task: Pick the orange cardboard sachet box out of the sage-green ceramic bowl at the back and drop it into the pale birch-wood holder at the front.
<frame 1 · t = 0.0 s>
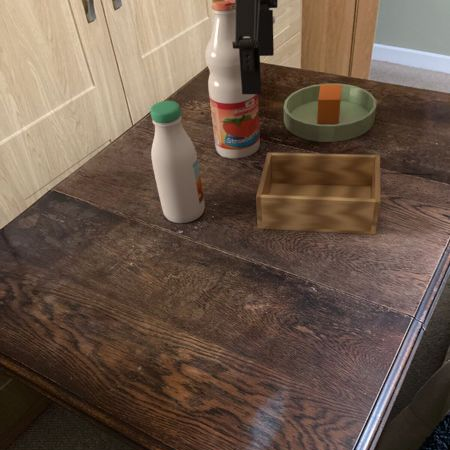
hand: (258, 73, 76), 22 cm above the table, tool pointing down, fingers open, 13 cm apart
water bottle: (236, 104, 118), on the table
fruit juice: (238, 149, 104), on the table
holder: (318, 207, 88), on the table
milk bottle: (184, 212, 91), on the table
sachet box: (328, 118, 107), resting on bowl
bowl: (328, 121, 108), on the table
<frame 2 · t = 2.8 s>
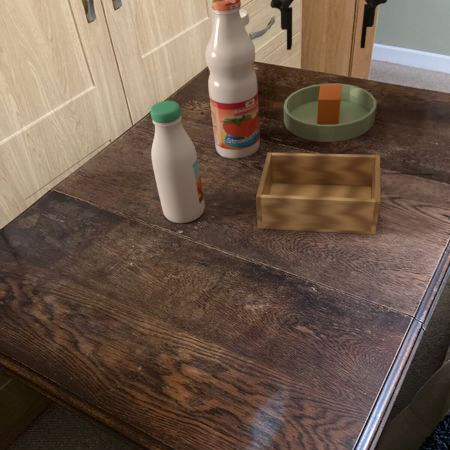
hand: (325, 46, 93), 17 cm above the table, tool pointing down, fingers open, 13 cm apart
nothing on the table moved.
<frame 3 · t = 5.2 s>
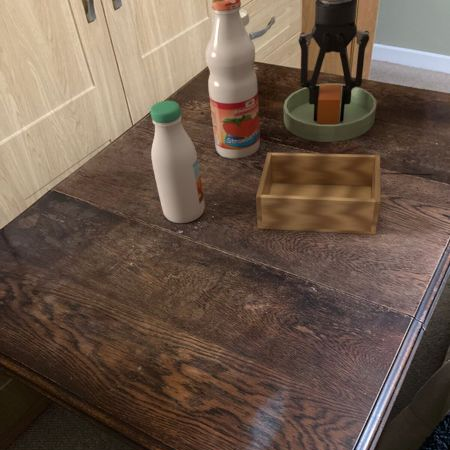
hand: (328, 117, 107), 1 cm above the table, tool pointing down, fingers closed on bowl, 5 cm apart
nothing on the table moved.
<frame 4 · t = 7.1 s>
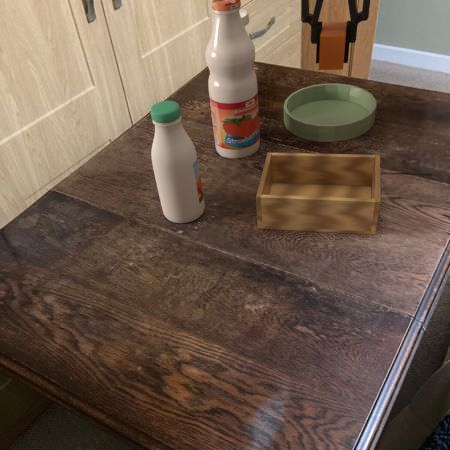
hand: (332, 60, 95), 14 cm above the table, tool pointing down, fingers closed on sachet box, 4 cm apart
sachet box: (332, 62, 95), point 14 cm above the table, touching gripper
everything else where it was.
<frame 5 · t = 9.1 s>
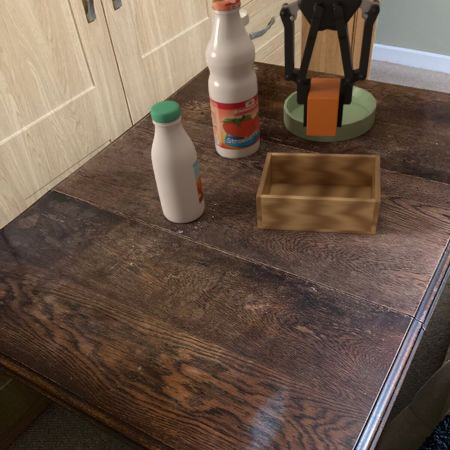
hand: (322, 122, 79), 14 cm above the table, tool pointing down, fingers closed on sachet box, 4 cm apart
sachet box: (322, 124, 79), point 14 cm above the table, touching gripper
everything else where it was.
when the fingers open (1 cm above the table, at t = 12.7 s): sachet box stays where it is, resting on holder.
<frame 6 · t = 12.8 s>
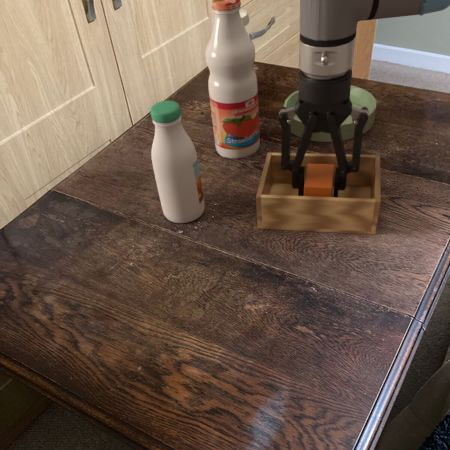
hand: (317, 202, 87), 1 cm above the table, tool pointing down, fingers open, 5 cm apart
sachet box: (317, 204, 87), point 1 cm above the table, touching holder
everything else where it was.
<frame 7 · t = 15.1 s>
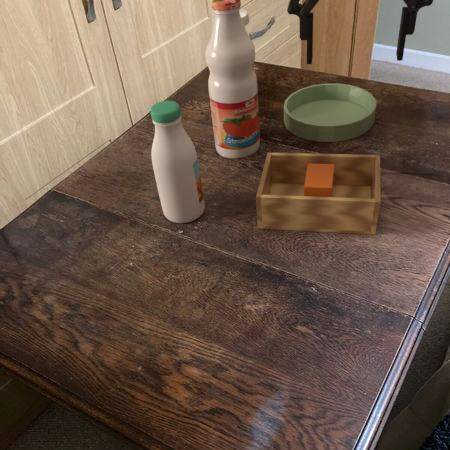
hand: (353, 59, 77), 22 cm above the table, tool pointing down, fingers open, 13 cm apart
nothing on the table moved.
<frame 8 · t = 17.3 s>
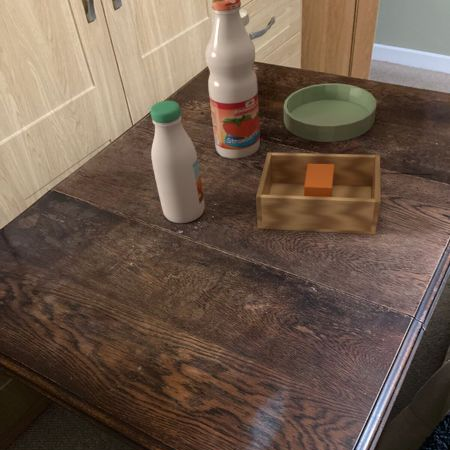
nothing on the table moved.
at the end: sachet box inside the target area in the holder (0.1 cm from its centre), point 0.6 cm above the holder's base; the gripper is holding nothing; sachet box tilted 0° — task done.
